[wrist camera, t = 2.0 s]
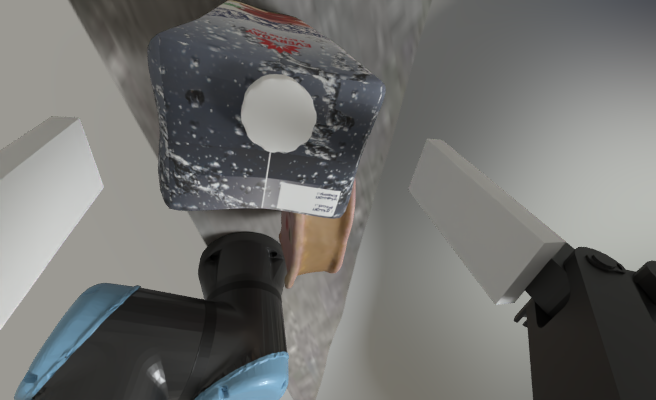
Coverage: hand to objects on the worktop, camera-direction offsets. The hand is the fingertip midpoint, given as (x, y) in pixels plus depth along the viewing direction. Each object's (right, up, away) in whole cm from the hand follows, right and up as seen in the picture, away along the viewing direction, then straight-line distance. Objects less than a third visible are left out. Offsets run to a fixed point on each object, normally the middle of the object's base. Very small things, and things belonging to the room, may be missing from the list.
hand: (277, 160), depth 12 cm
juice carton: (-6, +16, +21) cm, 27 cm away
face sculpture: (-2, +3, +31) cm, 32 cm away
